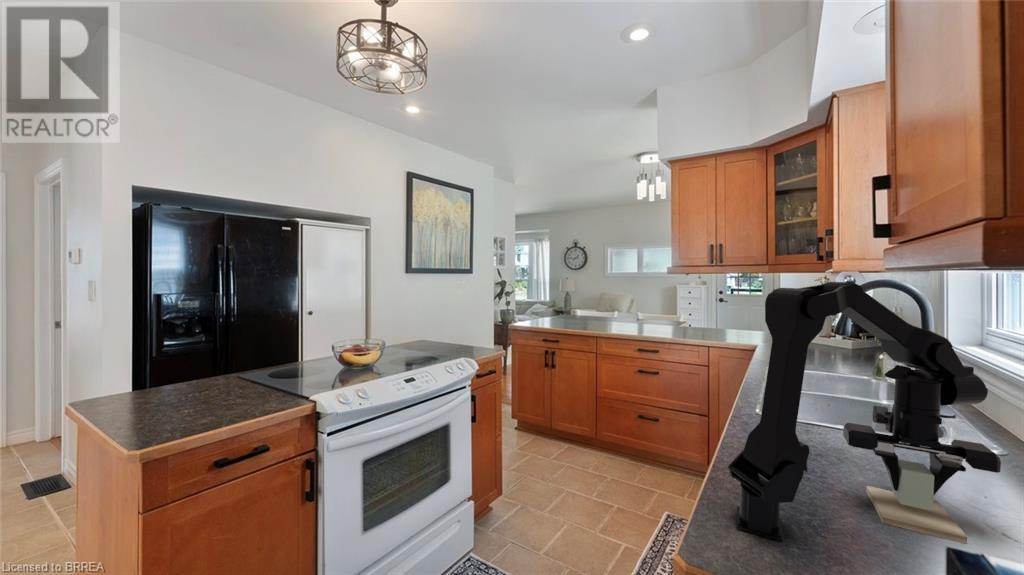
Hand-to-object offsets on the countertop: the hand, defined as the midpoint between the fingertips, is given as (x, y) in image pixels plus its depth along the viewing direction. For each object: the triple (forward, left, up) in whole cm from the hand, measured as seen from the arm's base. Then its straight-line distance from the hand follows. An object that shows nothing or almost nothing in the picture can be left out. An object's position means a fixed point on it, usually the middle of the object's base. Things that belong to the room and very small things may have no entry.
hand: (911, 493), depth 71 cm
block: (0, 0, -1) cm, 1 cm away
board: (0, 0, -4) cm, 4 cm away
